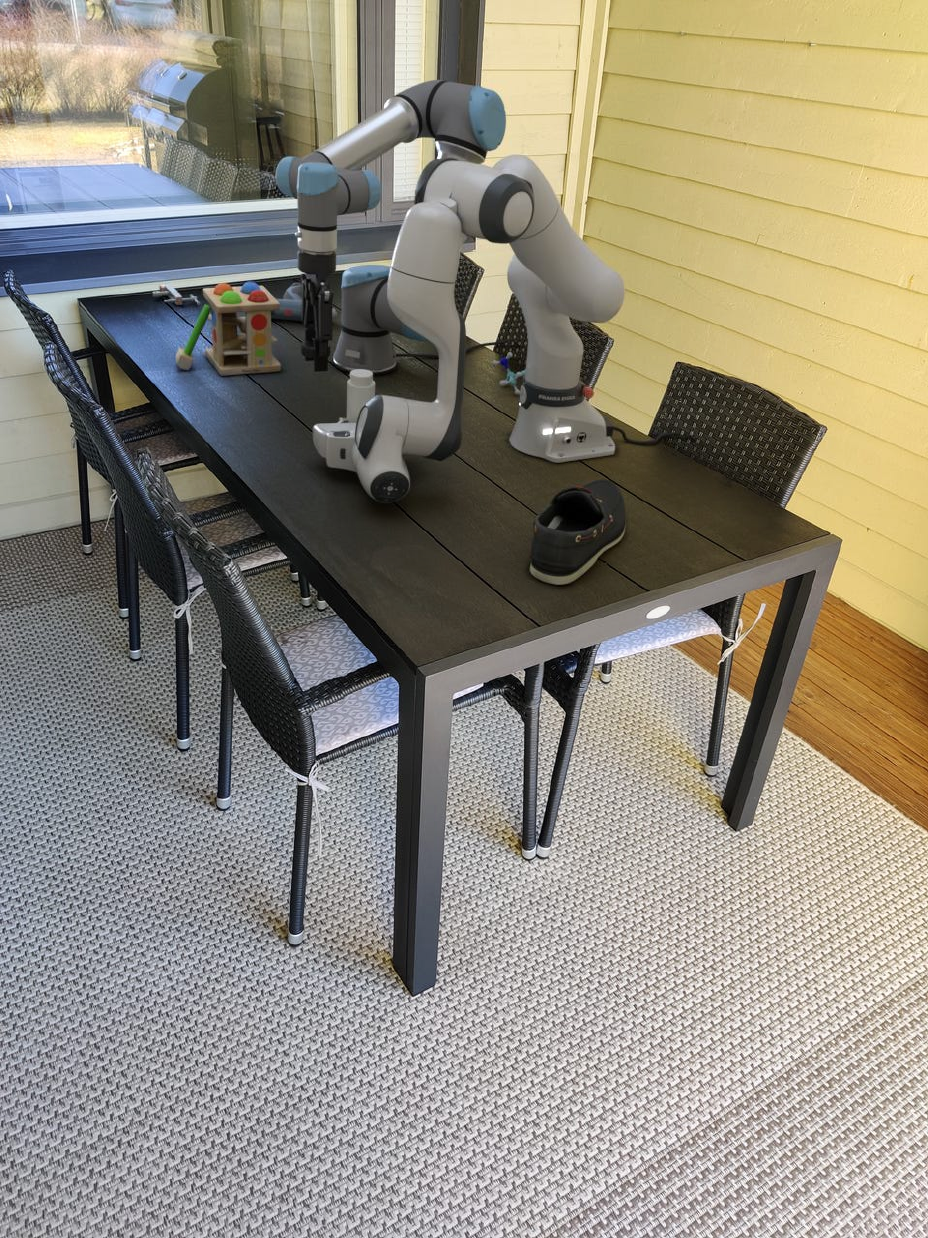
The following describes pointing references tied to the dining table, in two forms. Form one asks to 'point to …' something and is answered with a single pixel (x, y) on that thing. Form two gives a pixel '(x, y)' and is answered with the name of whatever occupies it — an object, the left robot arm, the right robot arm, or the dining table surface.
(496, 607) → the dining table surface
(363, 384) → the jar
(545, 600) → the dining table surface
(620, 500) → the boat shoe
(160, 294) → the clamp
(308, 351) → the lid
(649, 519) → the dining table surface
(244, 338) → the pounding bench toy
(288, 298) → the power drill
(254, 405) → the dining table surface
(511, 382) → the molecular model
